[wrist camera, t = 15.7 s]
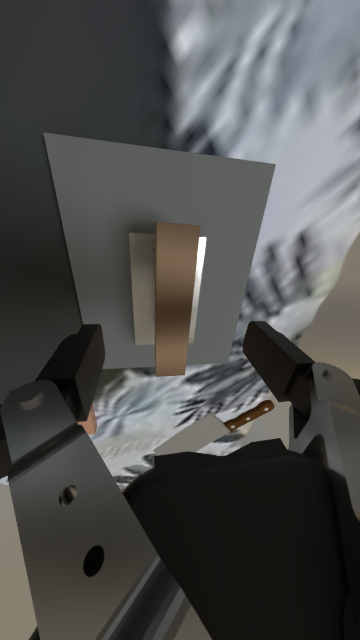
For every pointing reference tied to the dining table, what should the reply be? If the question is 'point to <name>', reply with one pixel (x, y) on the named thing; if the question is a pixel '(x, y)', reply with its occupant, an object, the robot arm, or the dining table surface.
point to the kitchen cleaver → (209, 430)
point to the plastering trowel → (166, 291)
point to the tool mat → (139, 217)
